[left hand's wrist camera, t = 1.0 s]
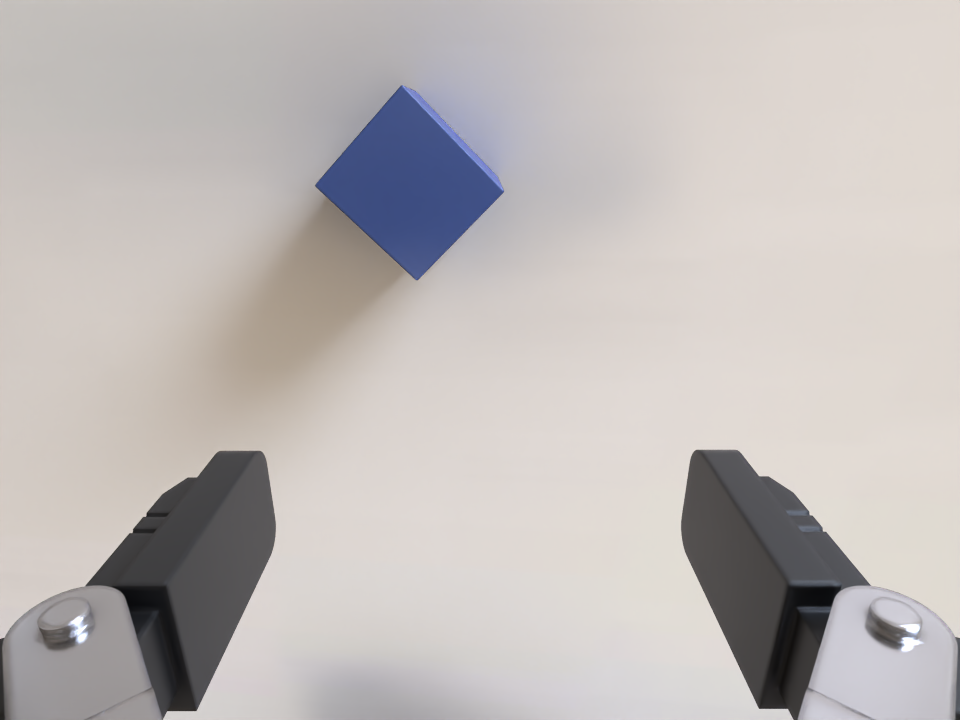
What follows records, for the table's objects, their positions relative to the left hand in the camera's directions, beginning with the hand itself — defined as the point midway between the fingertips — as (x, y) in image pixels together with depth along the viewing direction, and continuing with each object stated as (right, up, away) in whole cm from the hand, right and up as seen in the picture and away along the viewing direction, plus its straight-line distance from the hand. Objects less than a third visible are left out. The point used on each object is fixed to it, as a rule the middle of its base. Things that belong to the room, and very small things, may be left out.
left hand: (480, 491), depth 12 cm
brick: (-2, +10, +13) cm, 17 cm away
